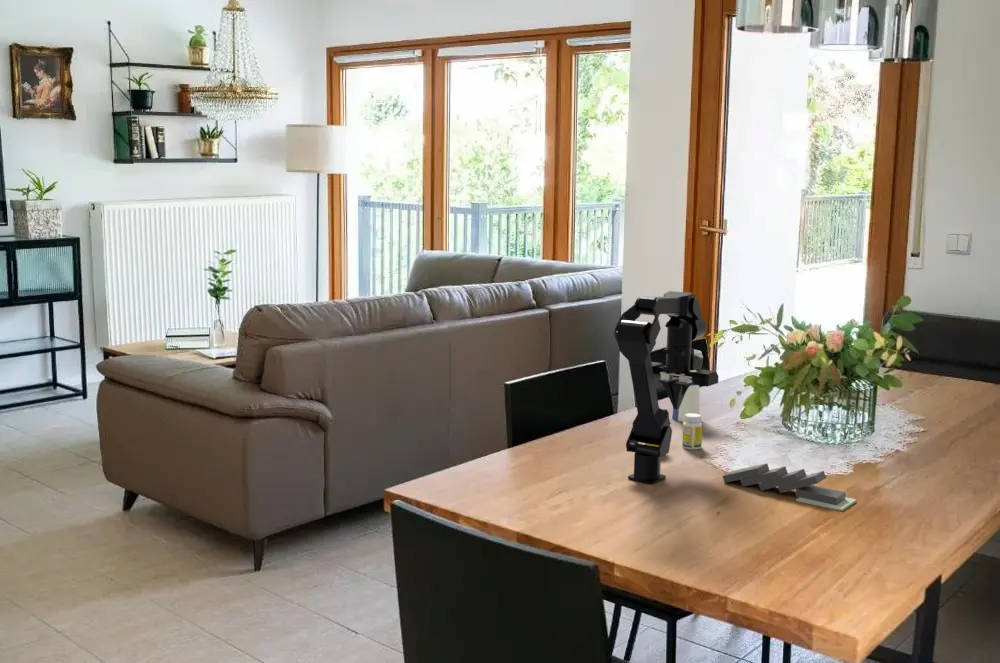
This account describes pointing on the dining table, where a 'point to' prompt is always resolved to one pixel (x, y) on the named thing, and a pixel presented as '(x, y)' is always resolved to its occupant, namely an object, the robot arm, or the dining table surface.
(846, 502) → the pad
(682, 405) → the water bottle
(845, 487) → the dining table surface
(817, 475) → the domino
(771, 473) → the domino
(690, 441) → the supplement bottle
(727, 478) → the domino
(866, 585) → the dining table surface
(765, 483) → the domino
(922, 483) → the dining table surface
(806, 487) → the domino
